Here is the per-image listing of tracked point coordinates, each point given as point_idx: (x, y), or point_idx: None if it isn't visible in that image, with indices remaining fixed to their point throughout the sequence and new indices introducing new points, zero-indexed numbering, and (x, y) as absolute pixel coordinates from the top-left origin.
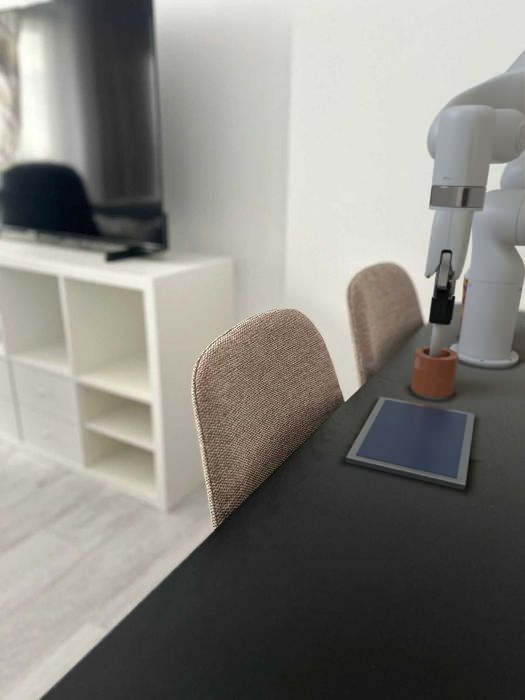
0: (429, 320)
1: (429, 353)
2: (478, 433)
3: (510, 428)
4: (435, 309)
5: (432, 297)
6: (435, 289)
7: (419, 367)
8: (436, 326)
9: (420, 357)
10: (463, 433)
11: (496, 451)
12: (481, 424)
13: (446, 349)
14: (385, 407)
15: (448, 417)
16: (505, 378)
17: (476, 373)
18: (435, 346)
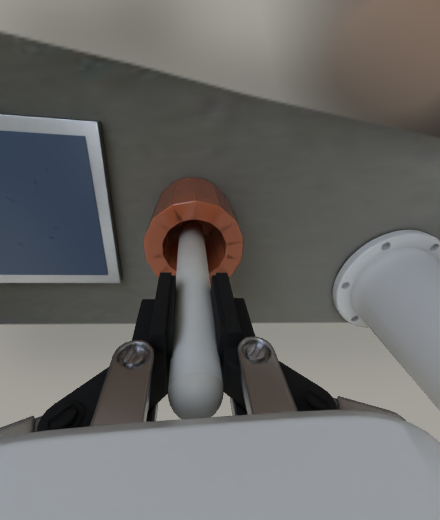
0: (159, 275)
1: (186, 234)
2: (75, 285)
3: (117, 315)
4: (138, 319)
5: (155, 335)
6: (105, 389)
7: (156, 209)
8: (176, 282)
9: (154, 216)
10: (35, 273)
11: (36, 304)
12: (108, 287)
13: (227, 266)
14: (44, 142)
15: (78, 252)
16: (295, 308)
17: (307, 274)
18: (177, 256)
